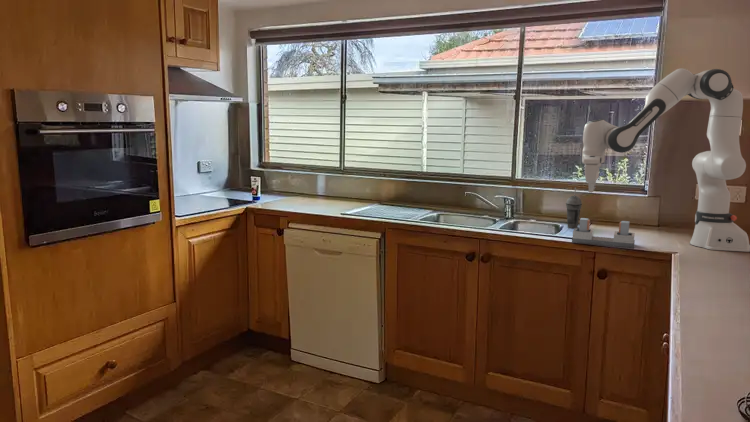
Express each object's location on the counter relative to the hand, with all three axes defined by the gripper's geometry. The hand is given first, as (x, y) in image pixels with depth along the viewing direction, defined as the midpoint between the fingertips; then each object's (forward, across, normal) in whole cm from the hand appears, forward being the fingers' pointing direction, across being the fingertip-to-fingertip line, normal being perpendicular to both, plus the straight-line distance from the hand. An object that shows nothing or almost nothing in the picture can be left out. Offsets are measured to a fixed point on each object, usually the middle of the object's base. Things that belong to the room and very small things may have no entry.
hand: (591, 190), depth 229 cm
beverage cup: (+22, -29, -10) cm, 38 cm away
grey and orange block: (+20, +3, -3) cm, 20 cm away
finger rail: (+22, +3, +5) cm, 23 cm away
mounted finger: (+20, +3, +13) cm, 24 cm away
